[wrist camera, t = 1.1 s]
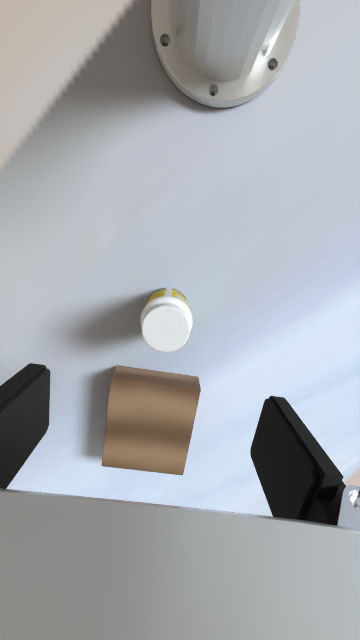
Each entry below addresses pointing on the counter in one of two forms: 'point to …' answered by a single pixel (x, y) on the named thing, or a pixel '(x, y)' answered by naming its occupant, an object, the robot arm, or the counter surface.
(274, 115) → the counter surface
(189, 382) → the walnut base
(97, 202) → the counter surface
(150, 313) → the supplement bottle
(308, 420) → the counter surface
